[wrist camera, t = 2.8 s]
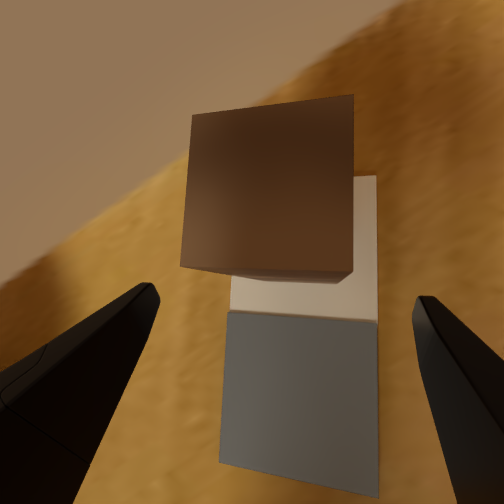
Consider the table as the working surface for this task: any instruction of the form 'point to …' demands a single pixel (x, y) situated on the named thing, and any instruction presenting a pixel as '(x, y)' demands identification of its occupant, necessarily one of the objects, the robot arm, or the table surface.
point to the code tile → (325, 295)
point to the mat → (302, 400)
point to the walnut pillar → (272, 192)
